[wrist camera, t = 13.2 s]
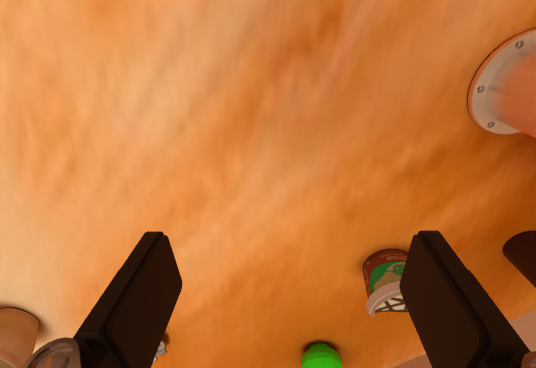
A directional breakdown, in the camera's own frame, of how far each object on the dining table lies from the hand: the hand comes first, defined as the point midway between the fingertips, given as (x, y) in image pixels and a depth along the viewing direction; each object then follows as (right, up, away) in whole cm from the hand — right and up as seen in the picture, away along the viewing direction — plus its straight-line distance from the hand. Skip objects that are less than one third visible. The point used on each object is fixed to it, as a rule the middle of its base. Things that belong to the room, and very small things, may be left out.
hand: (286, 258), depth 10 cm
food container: (+22, -11, +40) cm, 47 cm away
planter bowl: (-62, -31, +56) cm, 90 cm away
